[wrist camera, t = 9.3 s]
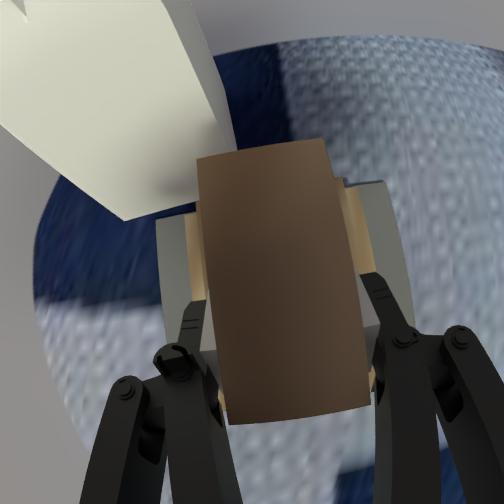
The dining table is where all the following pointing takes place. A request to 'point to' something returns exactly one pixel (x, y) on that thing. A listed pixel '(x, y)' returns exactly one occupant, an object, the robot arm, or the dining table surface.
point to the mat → (381, 238)
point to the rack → (355, 232)
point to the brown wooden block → (281, 284)
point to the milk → (114, 96)
